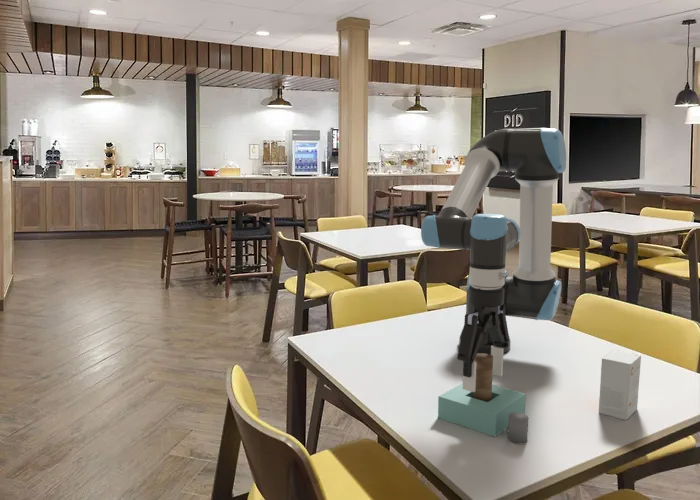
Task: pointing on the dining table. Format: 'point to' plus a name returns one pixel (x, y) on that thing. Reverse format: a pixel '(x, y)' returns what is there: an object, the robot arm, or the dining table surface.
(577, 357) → the dining table surface
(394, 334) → the dining table surface
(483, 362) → the walnut dowel
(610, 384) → the small box
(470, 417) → the hole block
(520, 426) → the charcoal dowel
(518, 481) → the dining table surface
